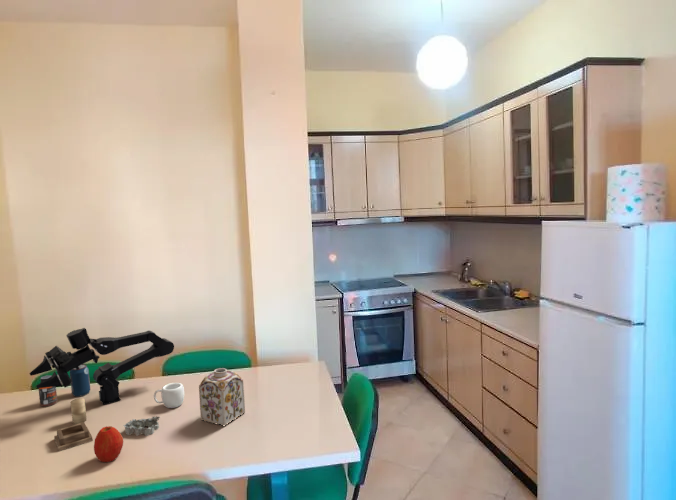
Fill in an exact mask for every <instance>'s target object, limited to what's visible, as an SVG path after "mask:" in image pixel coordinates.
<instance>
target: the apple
mask: <svg viewBox="0 0 676 500" xmlns="http://www.w3.org/2000/svg"><path fill="white" fill-rule="evenodd" d="M123 446H124V437H123V435H122V434H121V432H120V431H119V430H118V429H117V428H115V427H114V426H109V425H108V426H107V425H106V426H104V427H102V428H101V429H100V430H99V431H98V433H97V434H96V436H95V438H94V445H93V452H94V454H95V457H96V458H97V460H98V461H100V462H101V463H111V462H114V461H115V460H116V459H117V458H119V457H120V456H119V455H120V454H121V452H122V450H123Z"/></svg>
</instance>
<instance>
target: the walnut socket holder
mask: <svg viewBox="0 0 676 500" xmlns="http://www.w3.org/2000/svg"><path fill="white" fill-rule="evenodd" d="M53 438H54V442H55V445H56V448H57V451H58V452H61V451H64V450H67V449H71V448H74V447H77V446H79V445H84V444H86V443H90V442H93V439H94V438H93V436H92V433H91V432H90V430H89V428H88V426H87V425H86V422H83V423H79V424H72V425H70V426H66V427H62V428H59V429H57V430H56V435H54V437H53Z"/></svg>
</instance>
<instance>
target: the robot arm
mask: <svg viewBox="0 0 676 500" xmlns="http://www.w3.org/2000/svg"><path fill="white" fill-rule="evenodd" d="M66 338H67V340H68V342H69V344H70V346H71V349H74V350H75V349H76V351H74V352H71V351H64V350H63V349H62V348H60V347H59V346H58V345H55V346H54V347H52V348H51V349H50V350H49V351H47V352H45V353H44V354H45V355H44V356H43V360H42V361H41V362H40V364H38V365H37V366H36V367H34V369H33V370H32V371H30V372H29V375H30V376H31V377H32V376H36V375H40V374H43V373H47V372H50V371H52V370H53V369H55V370H56V371H53V373H52V375H51V377H50V378H48V379H46V380H45V381H43V382H41V381H40V382H41V383H40V382H39V383H38V384H37V385H36V386H35V387H36V388H37V389H39V388H45V387H56V388H57V387H60V388H67V387H69V386H71V382H72V381H71V379H70V374H69V373H70V371H71V370H72V369H74V368H76V370H77V369H79V367H78V366H80V365H82V364H86V363H88V362H90V361H92V362H93V363H95V364H97V363H98V361H99V359H100V355H101V356H102V355H103V356H105V355H109V354H111V353H114V352H116V351H117V350H119V349H122V348H125V347H130V346H135V345H140V344H143V343H148V342H150V343H151V346H150V347H148V348H147V349H145V350H142V351H140V352H139V353H136V354H134V355H133V356H130V357H129V358H126V359H124V360H122V361H120V362H117V363H116V364H111V363H110V362H106V363H105V364H103V365H101V366H98V368H97V369H95V370H94V373H93V376H92V377H93V380H94V381H95V382H96V383H97V385H99V386H100V387H99V391H98V398H99V402H100V403H101V404H102V405H103V406H105V405H106V406H107V405H109V404H112V403H116V402H117V403H118V402H120V401H121V397H120V389H119V385H120V381H119V380H117V379H118V378H119V377H120V376H121V375H123V374H124V373H126V372H129V371H130V370H132V369H134V368H136V367H138V366H140V365H142V364H145V363H146V362H149V361H151V360H152V359H154V358H160V357H165V356H168V355H171V354H172V353H173V352H174V349H175V344H174V343H173V342H172V341H170V340H169V339H167V338H162V337H160V336H159V335H157V334H156V333H155V332H154V331H153V330H146V331H144V332H143V331H142V332H137V333H134V334H128V335H124V336H117V337H110V336H109V337H108V336H107V337H99V338H90V336H89V334H88V331H87V329H86V328H85V327H82V328H80V329H79V328H78V329H73V330H72V331H70V332H68V333H67V334H66ZM90 346H91V347H92V348H90ZM96 352H97V354H96ZM98 354H99V355H98Z"/></svg>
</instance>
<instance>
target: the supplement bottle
mask: <svg viewBox="0 0 676 500" xmlns="http://www.w3.org/2000/svg"><path fill="white" fill-rule="evenodd" d="M51 376H52V375H49V374H48V375H44V376H41V377H40V378H39V379H40V382H39V383H41V382H43V381H45V380H46V379H48V378H50V377H51ZM57 393H58V392H57V387H45V388H38V396H39V405H40V407H51V406H53V405H55V404H57V403H58V394H57Z"/></svg>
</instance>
